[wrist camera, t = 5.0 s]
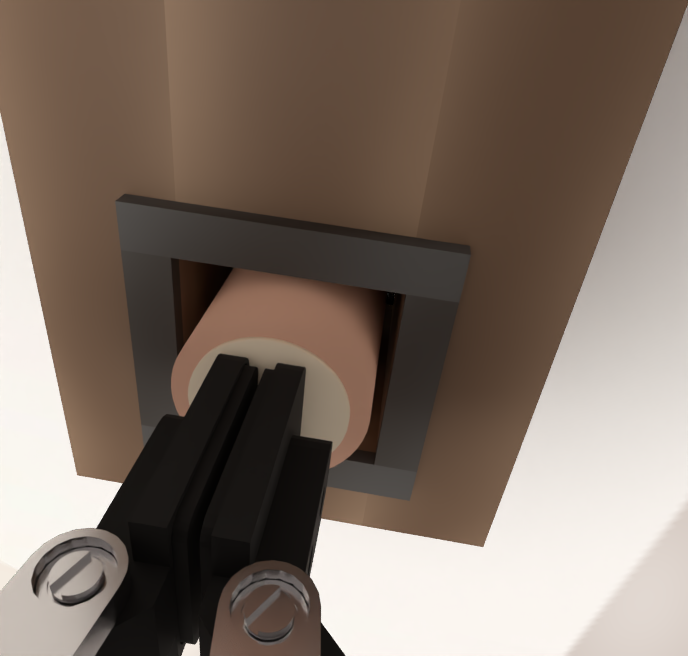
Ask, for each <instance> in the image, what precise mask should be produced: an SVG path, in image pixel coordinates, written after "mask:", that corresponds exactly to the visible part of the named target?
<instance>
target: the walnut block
mask: <svg viewBox="0 0 688 656" xmlns="http://www.w3.org/2000/svg"><path fill="white" fill-rule="evenodd" d="M687 4H688V0H0V113H1V117H2V122H3V127H4V131H5V136H6V141H7V146H8V150H9V155H10V160H11V165H12V169H13V174H14V179H15V183H16V188H17V193H18V198H19V202H20V207H21V212H22V216H23V221H24V226H25V231H26V235H27V240H28V245H29V250H30V254H31V259H32V264H33V268H34V273H35V278H36V283H37V287H38V292H39V297H40V301H41V306H42V311H43V316H44V320H45V325H46V330H47V335H48V339H49V344H50V349H51V353H52V358H53V363H54V368H55V372H56V377H57V382H58V386H59V391H60V396H61V401H62V405H63V410H64V415H65V420H66V424H67V429H68V434H69V438H70V443H71V448H72V453H73V457H74V462H75V467H76V471H77V475H79V476H85V477H91V478H96V479H102V480H108V481H113V482H119V483H123V482H124V480H125V479H126V477H127V475H128V474H129V472H130V470H131V469H132V467H133V465H134V463H135V462H136V460H137V458H138V457H139V455H140V453H141V452H142V450H143V448H144V446H145V445H146V443H147V441H148V440H149V438H150V436H151V435H152V433H153V431H154V429H155V428H156V426H157V424H158V423H159V421H160V420H161V418H162V417H163V416H164V415H166V414H172V415H178V416H179V414H178V412H177V410H176V407H175V404H174V401H173V397H172V391H171V376H172V370H173V366H174V364H175V361H176V358H177V357H178V355H179V353H180V351H181V350H182V348H183V347H184V345H185V343H186V342H187V340H188V339H189V337H190V336H191V334H192V333H193V331H194V329H195V328H196V326H197V325H198V323H199V322H200V320H201V318H202V317H203V315H204V314H205V312H206V311H207V309H208V307H209V306H210V304H211V303H212V301H213V300H214V298H215V297H216V295H217V293H218V292H219V290H220V289H221V287H222V286H223V284H224V282H225V281H226V279H227V278H228V276H229V275H230V273H231V271H232V270H233V268H240V269H246V270H253V271H259V272H266V273H272V274H278V275H285V276H291V277H298V278H304V279H310V280H317V281H323V282H330V283H336V284H343V285H349V286H355V287H362V288H368V289H375V290H381V291H387V292H394V293H395V296H394V302H393V305H389V304H386V307H385V315H384V322H383V329H382V336H381V344H380V351H379V358H378V366H377V373H376V380H375V388H374V395H373V402H372V410H371V417H370V423H369V427H368V430H367V433H366V435H365V437H364V439H363V441H362V442H361V444H360V445H359V447H358V448H357V449H356V450H355V451H354V452H353V454H352V455H351V456H349V457H348V458H347V459H345V460H344V461H343V462H341V463H339V464H338V465H336V466H334V467H332V468H330V469H329V475H328V482H327V488H326V494H325V500H324V505H323V511H322V516H321V518H322V519H328V520H334V521H339V522H345V523H351V524H356V525H362V526H367V527H373V528H379V529H384V530H390V531H396V532H401V533H407V534H413V535H418V536H424V537H430V538H435V539H441V540H447V541H452V542H458V543H464V544H469V545H475V546H480V547H483V546H484V543H485V541H486V538H487V535H488V533H489V530H490V527H491V525H492V522H493V519H494V517H495V514H496V511H497V509H498V506H499V503H500V501H501V498H502V495H503V493H504V490H505V488H506V485H507V482H508V480H509V477H510V474H511V472H512V469H513V466H514V464H515V461H516V458H517V456H518V453H519V450H520V448H521V445H522V442H523V440H524V437H525V434H526V432H527V429H528V426H529V424H530V421H531V419H532V416H533V413H534V411H535V408H536V405H537V403H538V400H539V397H540V395H541V392H542V389H543V387H544V384H545V381H546V379H547V376H548V373H549V371H550V368H551V365H552V363H553V360H554V357H555V355H556V352H557V350H558V347H559V344H560V342H561V339H562V336H563V334H564V331H565V328H566V326H567V323H568V320H569V318H570V315H571V312H572V310H573V307H574V304H575V302H576V299H577V296H578V294H579V291H580V288H581V286H582V283H583V280H584V278H585V275H586V273H587V270H588V267H589V265H590V262H591V259H592V257H593V254H594V251H595V249H596V246H597V243H598V241H599V238H600V235H601V233H602V230H603V227H604V225H605V222H606V219H607V217H608V214H609V211H610V209H611V206H612V204H613V201H614V198H615V196H616V193H617V190H618V188H619V185H620V182H621V180H622V177H623V174H624V172H625V169H626V166H627V164H628V161H629V158H630V156H631V153H632V150H633V148H634V145H635V142H636V140H637V137H638V135H639V132H640V129H641V127H642V124H643V121H644V119H645V116H646V113H647V111H648V108H649V105H650V103H651V100H652V97H653V95H654V92H655V89H656V87H657V84H658V81H659V79H660V76H661V73H662V71H663V68H664V66H665V63H666V60H667V58H668V55H669V52H670V50H671V47H672V44H673V42H674V39H675V36H676V34H677V31H678V28H679V26H680V23H681V20H682V18H683V15H684V12H685V10H686V7H687Z"/></svg>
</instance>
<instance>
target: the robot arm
mask: <svg viewBox="0 0 688 656" xmlns="http://www.w3.org/2000/svg"><path fill="white" fill-rule="evenodd" d="M305 376H306V368H305V367H302V366H295V365H289V364H283V363H277V364H276V366H275V369H274V370H273V369H267V368H266V369H265V370H264V372H263V374H262V377H261V379H260V382H259V384H258V368H257V367H255V366H249V359H248V358H246V357H240V356H233V355H227V354H221V353H220V354H218V356H217V357H216V359H215V361H214V362H213V364H212V366H211V368H210V370H209V372H208V374H207V375H206V377H205V379H204V381H203V383H202V385H201V387H200V388H199V390H198V392H197V394H196V396H195V398H194V400H193V401H192V403H191V405H190V407H189V409H188V411H187V413H186V414H185V416H178V415H172V414H166V415H164V416H163V417H162V418H161V420H160V421H159V423H158V424H157V426H156V428H155V429H154V431H153V433H152V435H151V436H150V438H149V440H148V441H147V443H146V445H145V446H144V448H143V450H142V452H141V453H140V455H139V457H138V458H137V460H136V462H135V463H134V465H133V467H132V469H131V470H130V472H129V474H128V475H127V477H126V479H125V480H124V482H123V484H122V486H121V487H120V489H119V491H118V492H117V494H116V496H115V497H114V499H113V501H112V503H111V504H110V506H109V508H108V509H107V511H106V513H105V514H104V516H103V518H102V520H101V521H100V523H99V525H98V526H97V528H96V529H95V528H85V529H75V530H72V531H69V532H66V533H63V534H60V535H58V536H56V537H54V538H53V539H51V540H49V541H48V542H46V543H44V544H43V545H42V546H41V547H40V548H39V549H38V550H37V551H35V552H34V553H33V554H32V555H31V556H30V558H29V559H28V560H27V561H26V562H25V563H24V564H23V566H22V567H21V568H20V569H19V570H18V571H17V573H16V574H15V575H14V576H13V577H12V578H11V579H10V581H9V582H8V583H7V584H6V585H5V586H4V588H3V589H2V590H1V591H0V656H181V655H182V652H183V649H184V646H185V644H186V643H189V644H196V643H197V641H198V639H199V641H200V656H345V654H344V653H343V652H342V650H341V649H340V648H339V646H338V645H337V643H336V642H335V641H334V639H333V638H332V637H331V635H330V634H329V633H328V631H327V630H326V628H325V627H324V626H323V624H322V623H321V604H320V598H319V592H318V590H317V588H316V586H315V585H314V583H313V581H312V579H311V578H310V572H311V567H312V562H313V557H314V552H315V547H316V542H317V536H318V531H319V526H320V521H321V516H322V511H323V505H324V500H325V494H326V488H327V482H328V475H329V468H330V460H331V453H332V444H333V442H332V441H327V440H321V439H315V438H309V437H303V436H300V434H301V422H302V411H303V399H304V388H305Z"/></svg>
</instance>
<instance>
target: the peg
mask: <svg viewBox="0 0 688 656" xmlns="http://www.w3.org/2000/svg"><path fill="white" fill-rule="evenodd" d="M387 293H388V292H387V291H381V290H375V289H368V288H362V287H355V286H349V285H343V284H336V283H330V282H323V281H317V280H310V279H304V278H298V277H291V276H285V275H278V274H272V273H266V272H259V271H253V270H246V269H240V268H233V270H232V271H231V273H230V275H229V276H228V278H227V279H226V281H225V282H224V284H223V286H222V287H221V289H220V290H219V292H218V293H217V295H216V297H215V298H214V300H213V301H212V303H211V304H210V306H209V307H208V309H207V311H206V312H205V314H204V315H203V317H202V318H201V320H200V322H199V323H198V325H197V326H196V328H195V329H194V331H193V333H192V334H191V336H190V337H189V339H188V340H187V342H186V343H185V345H184V347H183V348H182V350H181V351H180V353H179V355H178V357H177V358H176V361H175V364H174V366H173V370H172V376H171V391H172V397H173V401H174V404H175V407H176V410H177V412H178V414H179V416H185V414H186V413H187V411H188V409H189V407H190V405H191V403H192V401H193V400H194V398H195V396H196V394H197V392H198V390H199V388H200V387H201V385H202V383H203V381H204V379H205V377H206V375H207V374H208V372H209V370H210V368H211V366H212V364H213V362H214V361H215V359H216V357H217V356H218V354H220V353H221V354H227V355H233V356H240V357H246V358H248V359H249V366H255V367H257V368H258V384H259V382H260V379H261V377H262V374H263V372H264V370H265V369H266V368H267V369H273V370H274V369H275V366H276V364H277V363H283V364H289V365H295V366H302V367H305V368H306V376H305V388H304V399H303V411H302V422H301V434H300V436H303V437H309V438H315V439H321V440H327V441H332V442H333V444H332V453H331V460H330V468H332V467H334V466H336V465H338V464H339V463H341V462H343V461H344V460H345V459H347V458H348V457H349V456H351V455H352V454H353V452H354V451H355V450H356V449H357V448H358V447H359V445H360V444H361V442H362V441H363V439H364V437H365V435H366V433H367V430H368V427H369V423H370V417H371V410H372V402H373V395H374V388H375V380H376V373H377V366H378V358H379V351H380V344H381V336H382V329H383V322H384V315H385V307H386V300H387ZM330 468H329V469H330Z"/></svg>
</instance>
